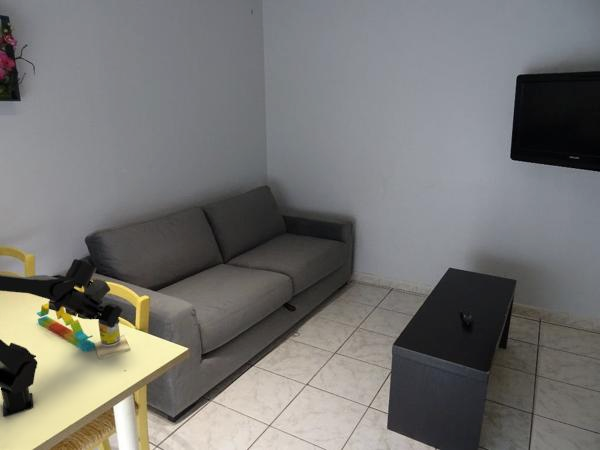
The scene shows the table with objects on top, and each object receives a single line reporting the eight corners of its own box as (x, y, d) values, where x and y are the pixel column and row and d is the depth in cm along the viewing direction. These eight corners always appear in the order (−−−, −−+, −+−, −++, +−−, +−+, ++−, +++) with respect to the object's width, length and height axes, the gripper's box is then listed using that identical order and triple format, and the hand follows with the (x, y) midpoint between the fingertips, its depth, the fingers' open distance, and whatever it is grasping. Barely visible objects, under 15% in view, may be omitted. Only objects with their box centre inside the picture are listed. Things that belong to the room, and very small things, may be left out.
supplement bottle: (99, 341, 140) (95, 311, 137) (118, 335, 143) (114, 306, 140) (103, 349, 136) (99, 318, 133) (122, 343, 139) (118, 313, 136)
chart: (96, 348, 140) (89, 304, 136) (86, 352, 138) (79, 308, 134) (48, 320, 158) (41, 281, 153) (38, 324, 155) (31, 284, 151)
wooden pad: (130, 350, 139) (130, 347, 138) (99, 359, 134) (99, 356, 134) (124, 337, 146) (124, 334, 146) (94, 345, 141) (94, 342, 141)
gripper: (113, 281, 125) (146, 301, 138) (68, 269, 133) (103, 290, 146) (93, 318, 121) (129, 336, 133) (48, 304, 129) (86, 322, 141)
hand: (111, 319), depth 138 cm, fingers closed on supplement bottle, 5 cm apart
